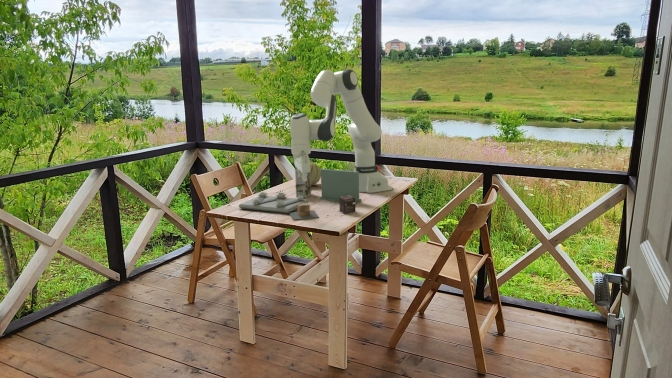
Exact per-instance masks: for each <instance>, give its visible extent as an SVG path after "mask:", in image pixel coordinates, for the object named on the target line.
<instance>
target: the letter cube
mask: <svg viewBox="0 0 672 378" xmlns="http://www.w3.org/2000/svg"><path fill="white" fill-rule="evenodd" d="M296 210H297V211H296V212H298V215H299V216H310V210H311V207H310V204H309V203H298V204H297V209H296Z"/></svg>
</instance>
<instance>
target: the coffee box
mask: <svg viewBox="0 0 672 378" xmlns="http://www.w3.org/2000/svg"><path fill="white" fill-rule="evenodd" d="M294 170H295V171H294V172H295V173H294V174H295V175H294V176H295V193H296V195H295V197H296V198H298V197H300V196H301V195H302V196H303V197H304V198H308V197H309V196H310V195H311V194H312V186H311V181H310V173H307V181H305V182H304V181H303V178H302V177H301V178H300V177H299V174H298V169H297V167H295V168H294ZM297 196H298V197H297ZM303 197H302V198H303Z"/></svg>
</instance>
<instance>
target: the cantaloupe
mask: <svg viewBox="0 0 672 378" xmlns="http://www.w3.org/2000/svg"><path fill="white" fill-rule="evenodd" d="M310 181H311V187H312V186H315V185H317V183H319V182H320V181H321V168H320V166H319V165H318V164H316V163H315V162H313V160H310Z"/></svg>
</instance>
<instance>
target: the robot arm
mask: <svg viewBox="0 0 672 378" xmlns="http://www.w3.org/2000/svg"><path fill="white" fill-rule="evenodd" d="M358 84H359V78H358V75H357V73H356V72H355V71H354V70H353V69H349V68H348V69H344V70H339V71H335V72H333V71H331V70H329V69H324V70H321V71H320V72H319V73H318V75H317V76H316V77H315V80H314V82H313V84H312V86H311V88H310V89H311V90H310V98H311V101H312V102H313V103H314V104H316V106H319V107H321V108H324V109H326V110H325V111H326V112H325V117H324V118H322V119H310V118H309V117H308V114H307V113H301V112H300V113H296V114H293V115H291V117H290V123H289V125H290V126H289V132H290V133H289V135H290V137H291V142H290V144H291V145H290V151H291V154H292V158H293V163H294V166H295V168H297V169H298V174H299V177H300V178H301V177H302V178H303V181H304V182H305V181H307V173H310V162H311V160H310V157H309V155H310V154H311V152H312V151H311V150H312V148H311V141H321V142H330V141H331V140H332V139H333V138H334V137H335V134H336V128H335V127H336V119H337V118H336V117H337V108H338V102H337V97H336V96H335V95H339V94H340V97H341V101H342V103H343V106H344V108H345V111H346V113H347V116H348V118H350V120H351V121H352V122H351V123H350V124H349V126H348V128H347V131H348V132H347V133H348V134H349V136H350V138H351V140H352V141H351V142H352V144H353V150H354V158H355V159H354V161H355V164H354V169H353V170H354V171H356V172H359V193H367V194H372V193H378V192H379V193H380V192H387V191H393V186H392V185H391V184H389V179H388V177H386V176H385V175H383V174H382V173H381V172H379V171H380V170H381V168H382V167H381V166H379V165H376V164H375V163H376V155H375V150H374V148H373V146H372V143H374V142H377V141H378V140H380V138H381V137H382V134H383V131H382V128H381V126H380V125H379V124H378V123H377V121H375V119H374V118H373V115H372V114H371V113H370V111H369V110H368V107H367V105H366V103H365V100H364V97H363V94H362V92H361V90H360V87H359V85H358Z"/></svg>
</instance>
